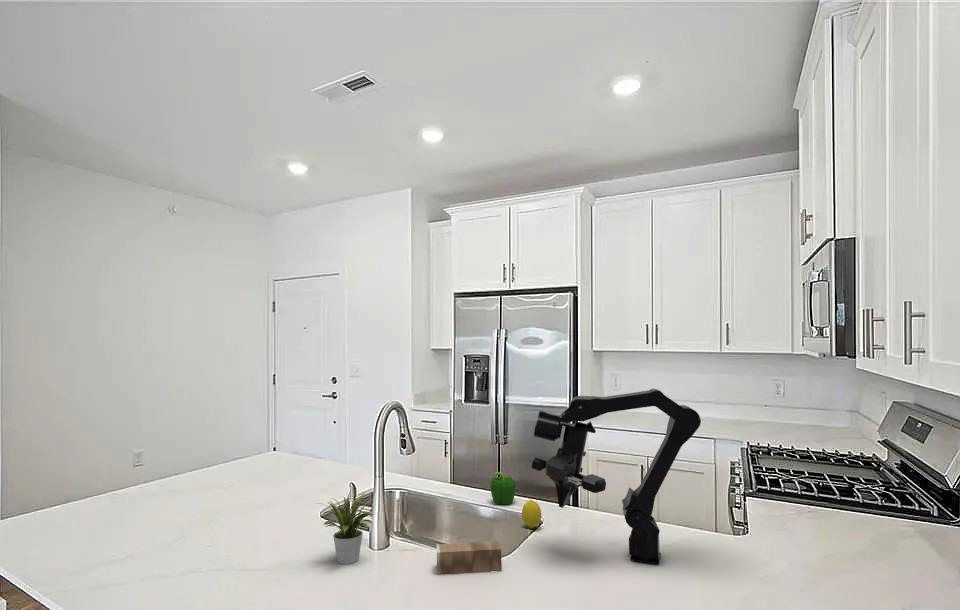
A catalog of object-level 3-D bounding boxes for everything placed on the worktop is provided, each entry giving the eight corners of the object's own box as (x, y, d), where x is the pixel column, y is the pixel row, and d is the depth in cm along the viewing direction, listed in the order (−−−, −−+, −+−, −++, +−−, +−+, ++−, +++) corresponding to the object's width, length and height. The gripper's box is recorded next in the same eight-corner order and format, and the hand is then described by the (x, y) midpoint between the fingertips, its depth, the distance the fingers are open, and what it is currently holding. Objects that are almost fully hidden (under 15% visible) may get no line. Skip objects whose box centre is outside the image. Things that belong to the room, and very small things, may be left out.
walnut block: (498, 540, 125) (436, 544, 123) (501, 549, 120) (436, 552, 119) (498, 562, 125) (436, 565, 123) (501, 571, 120) (436, 575, 118)
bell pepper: (519, 500, 173) (518, 469, 173) (512, 507, 165) (511, 476, 166) (495, 498, 175) (494, 468, 176) (487, 505, 168) (487, 474, 168)
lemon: (540, 532, 143) (540, 503, 144) (521, 531, 144) (520, 502, 145) (542, 525, 148) (541, 497, 149) (523, 524, 150) (522, 496, 150)
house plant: (318, 579, 117) (319, 506, 118) (308, 557, 129) (309, 490, 130) (380, 566, 123) (379, 496, 124) (364, 546, 135) (364, 482, 137)
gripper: (525, 436, 130) (513, 497, 129) (592, 460, 118) (579, 528, 117) (548, 434, 138) (536, 492, 138) (612, 456, 127) (600, 519, 126)
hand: (561, 507), depth 130 cm, fingers closed
